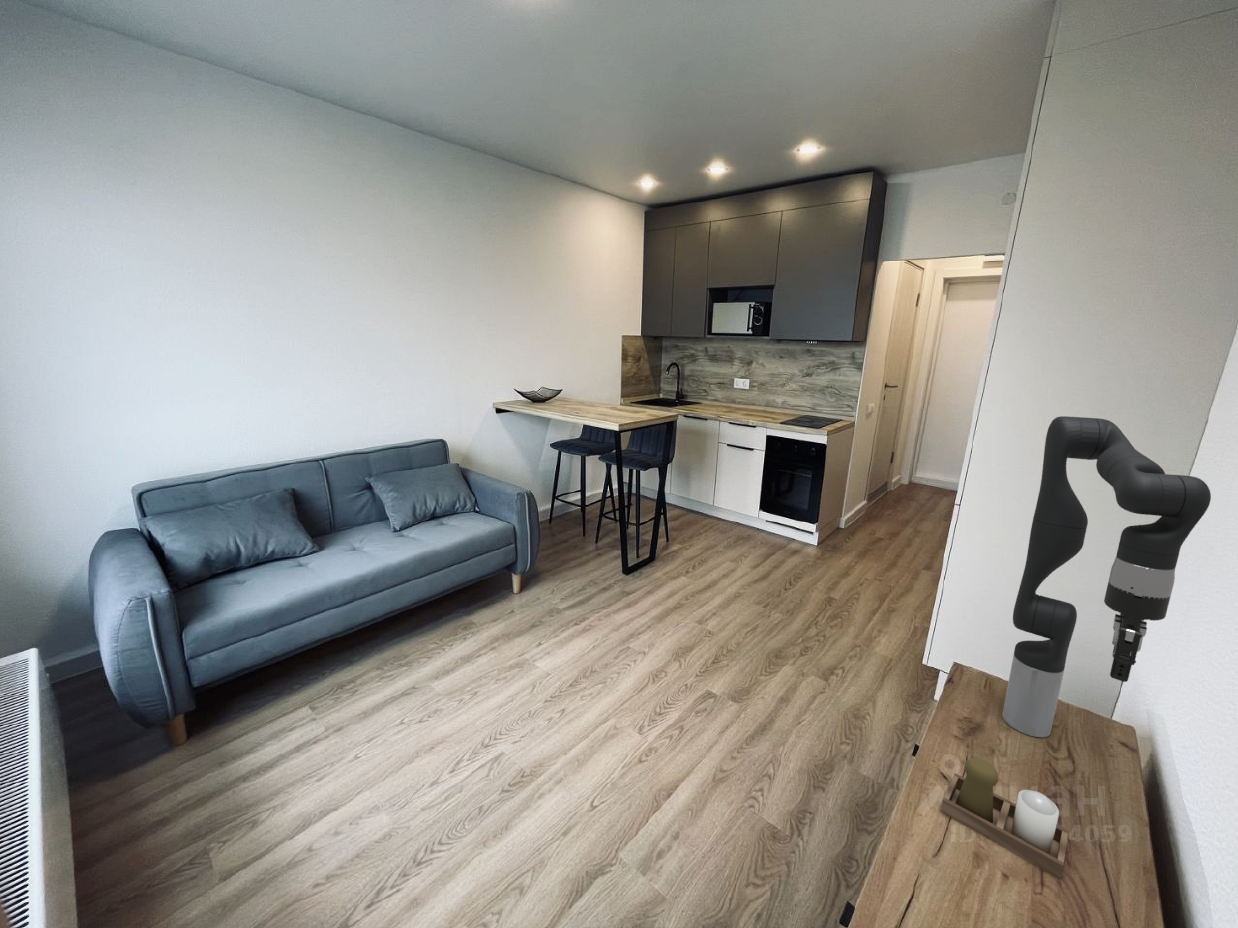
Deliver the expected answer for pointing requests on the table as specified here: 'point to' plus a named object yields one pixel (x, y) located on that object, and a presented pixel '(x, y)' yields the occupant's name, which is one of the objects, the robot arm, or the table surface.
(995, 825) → the caddy
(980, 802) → the pepper shaker
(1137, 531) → the robot arm
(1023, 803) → the salt shaker
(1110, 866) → the table surface
